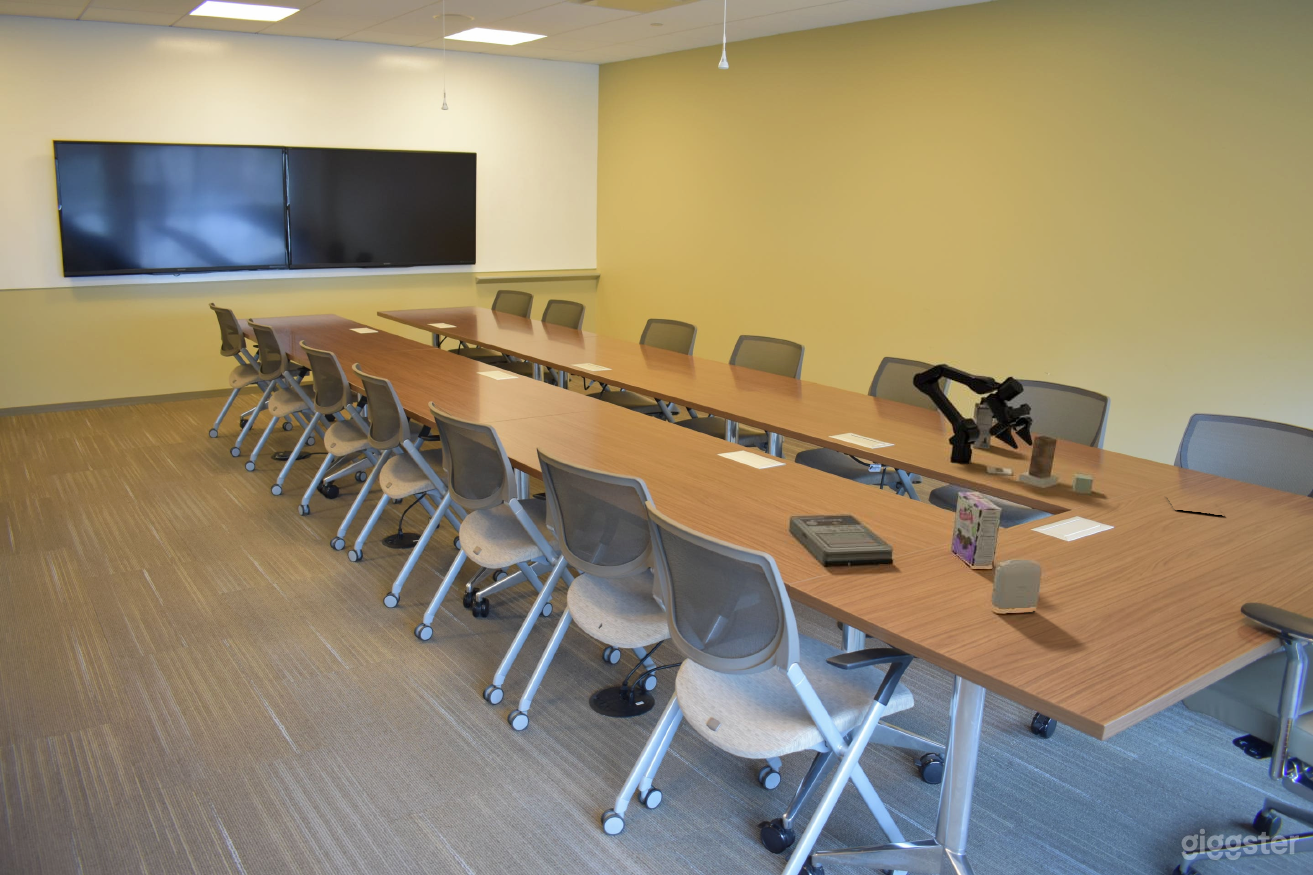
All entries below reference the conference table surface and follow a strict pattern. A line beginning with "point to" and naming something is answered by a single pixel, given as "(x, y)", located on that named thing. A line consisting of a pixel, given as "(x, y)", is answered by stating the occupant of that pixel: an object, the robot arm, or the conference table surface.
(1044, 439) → the walnut pillar
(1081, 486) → the sage cube
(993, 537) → the candy box
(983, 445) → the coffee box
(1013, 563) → the photo printer
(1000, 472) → the card
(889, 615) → the conference table surface
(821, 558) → the hard drive
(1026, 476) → the grey base block
